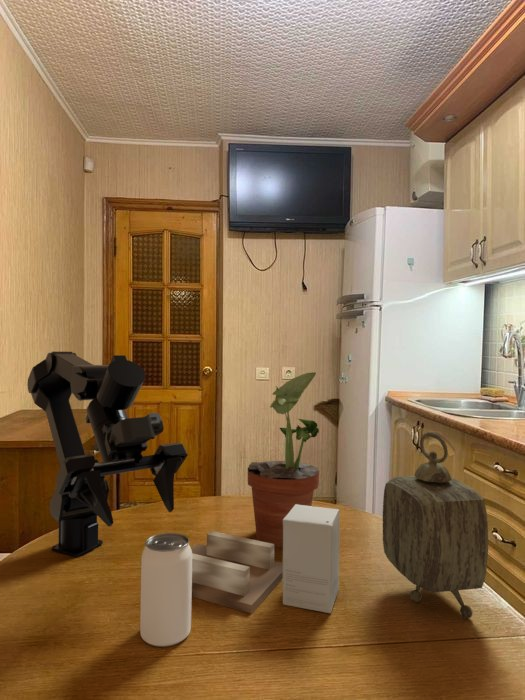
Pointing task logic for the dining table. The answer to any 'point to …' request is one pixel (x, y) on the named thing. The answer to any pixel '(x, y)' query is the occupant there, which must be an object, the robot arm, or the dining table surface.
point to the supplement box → (311, 557)
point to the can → (166, 589)
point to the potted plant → (283, 470)
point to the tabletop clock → (436, 529)
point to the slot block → (234, 571)
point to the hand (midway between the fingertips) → (142, 517)
